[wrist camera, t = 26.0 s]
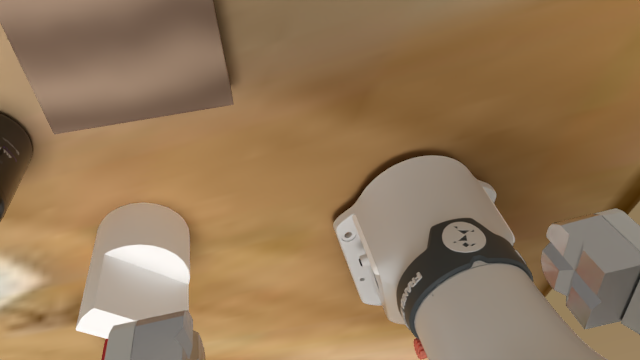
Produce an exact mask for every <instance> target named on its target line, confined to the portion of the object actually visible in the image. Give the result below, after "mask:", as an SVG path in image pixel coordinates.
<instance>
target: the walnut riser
mask: <svg viewBox="0 0 640 360" xmlns="http://www.w3.org/2000/svg"><path fill="white" fill-rule="evenodd" d="M0 23H1V25H2V27H3V29H4V31H5V33H6V35H7V37H8V39H9V42H10V44H11V46H12V48H13V50H14V52H15V54H16V56H17V58H18V60H19V62H20V64H21V67H22V69H23V71H24V73H25V75H26V77H27V79H28V81H29V83H30V85H31V87H32V89H33V91H34V94H35V96H36V98H37V100H38V102H39V104H40V106H41V108H42V110H43V112H44V114H45V116H46V119H47V121H48V123H49V125H50V127H51V129H52V131H53V133H54V134H59V133H65V132H71V131H77V130H83V129H89V128H95V127H101V126H107V125H114V124H120V123H126V122H132V121H138V120H144V119H150V118H156V117H162V116H168V115H174V114H180V113H186V112H192V111H198V110H204V109H210V108H216V107H222V106H228V105H234V104H233V98H232V91H231V85H230V80H229V75H228V70H227V66H226V61H225V56H224V51H223V46H222V41H221V36H220V31H219V26H218V21H217V16H216V11H215V6H214V1H213V0H0Z"/></svg>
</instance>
